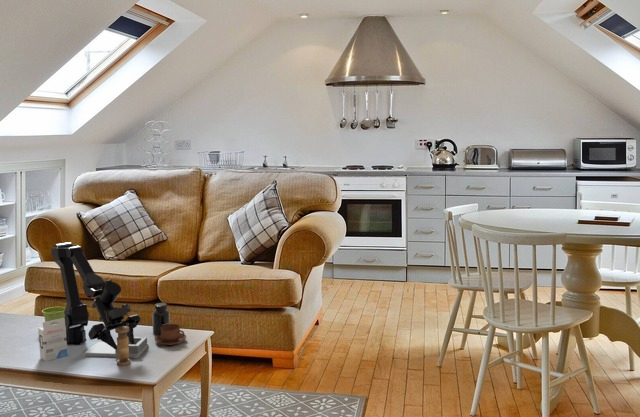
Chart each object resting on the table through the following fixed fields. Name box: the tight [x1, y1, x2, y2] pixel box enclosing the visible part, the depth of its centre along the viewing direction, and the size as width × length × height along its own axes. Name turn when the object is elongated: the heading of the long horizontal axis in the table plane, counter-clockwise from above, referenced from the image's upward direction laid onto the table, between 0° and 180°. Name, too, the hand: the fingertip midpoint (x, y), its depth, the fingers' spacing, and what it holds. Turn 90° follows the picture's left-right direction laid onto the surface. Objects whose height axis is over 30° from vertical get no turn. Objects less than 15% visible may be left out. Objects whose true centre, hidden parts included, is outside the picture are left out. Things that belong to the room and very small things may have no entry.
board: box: [84, 336, 150, 358], centre depth 258 cm, size 20×12×4 cm, turn 85°
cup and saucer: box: [154, 323, 187, 346], centre depth 268 cm, size 12×12×6 cm
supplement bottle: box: [152, 302, 171, 336], centre depth 278 cm, size 7×7×12 cm
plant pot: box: [41, 306, 66, 325], centre depth 282 cm, size 9×9×9 cm
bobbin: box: [114, 326, 132, 367], centre depth 245 cm, size 5×5×13 cm
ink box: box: [37, 318, 68, 362], centre depth 251 cm, size 8×5×15 cm, turn 133°
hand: (125, 346), depth 244 cm, fingers open, 7 cm apart
